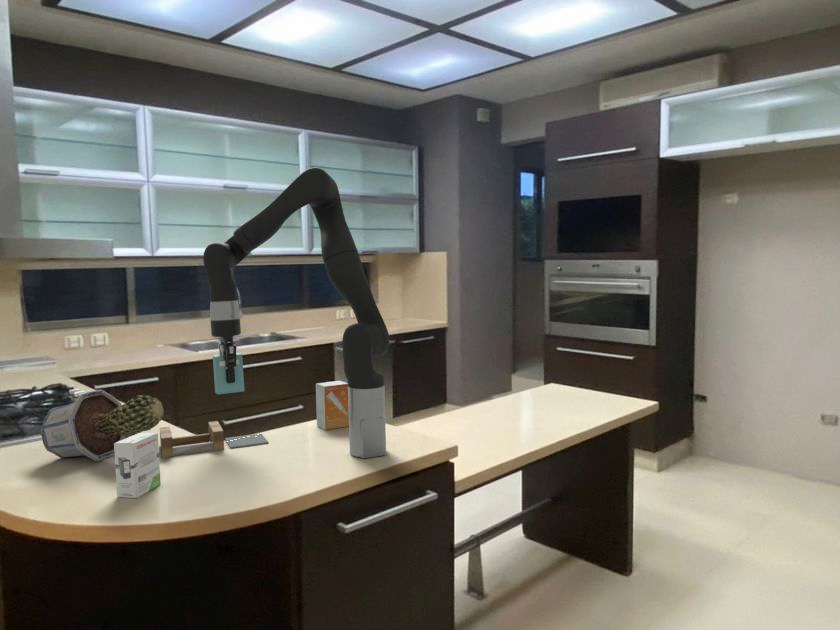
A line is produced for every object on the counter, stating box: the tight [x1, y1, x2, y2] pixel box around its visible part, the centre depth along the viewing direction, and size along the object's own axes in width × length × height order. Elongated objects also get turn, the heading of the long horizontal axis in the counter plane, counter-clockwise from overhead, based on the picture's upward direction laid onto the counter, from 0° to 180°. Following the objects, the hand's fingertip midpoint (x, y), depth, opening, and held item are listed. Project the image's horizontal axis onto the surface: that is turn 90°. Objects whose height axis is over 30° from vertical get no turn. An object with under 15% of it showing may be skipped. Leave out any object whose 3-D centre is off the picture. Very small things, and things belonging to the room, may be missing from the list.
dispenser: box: [159, 420, 225, 459], centre depth 164 cm, size 12×15×5 cm
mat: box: [224, 433, 269, 449], centre depth 169 cm, size 10×10×1 cm
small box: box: [315, 380, 349, 431], centre depth 183 cm, size 8×6×13 cm
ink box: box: [114, 432, 161, 499], centre depth 132 cm, size 9×5×12 cm, turn 169°
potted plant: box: [40, 389, 165, 462], centre depth 156 cm, size 18×18×30 cm
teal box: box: [212, 352, 245, 395], centre depth 165 cm, size 4×7×10 cm, turn 117°
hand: (229, 381), depth 165 cm, fingers closed on teal box, 4 cm apart
